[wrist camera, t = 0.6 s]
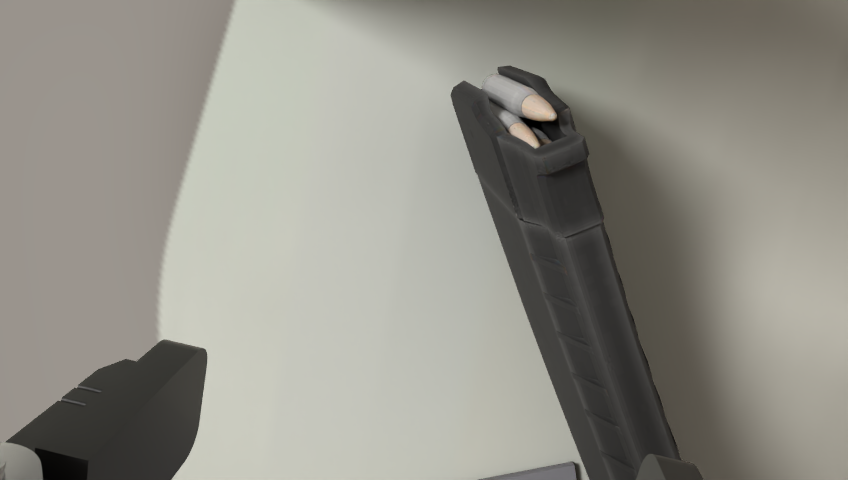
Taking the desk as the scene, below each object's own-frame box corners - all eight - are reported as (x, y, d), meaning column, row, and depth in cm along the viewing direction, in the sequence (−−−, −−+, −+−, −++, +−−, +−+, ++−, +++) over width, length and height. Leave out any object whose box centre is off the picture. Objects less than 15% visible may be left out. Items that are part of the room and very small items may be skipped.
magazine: (825, 803, 27) (710, 124, 15) (753, 835, 27) (581, 175, 15) (632, 502, 43) (502, 56, 31) (586, 522, 42) (438, 81, 31)
